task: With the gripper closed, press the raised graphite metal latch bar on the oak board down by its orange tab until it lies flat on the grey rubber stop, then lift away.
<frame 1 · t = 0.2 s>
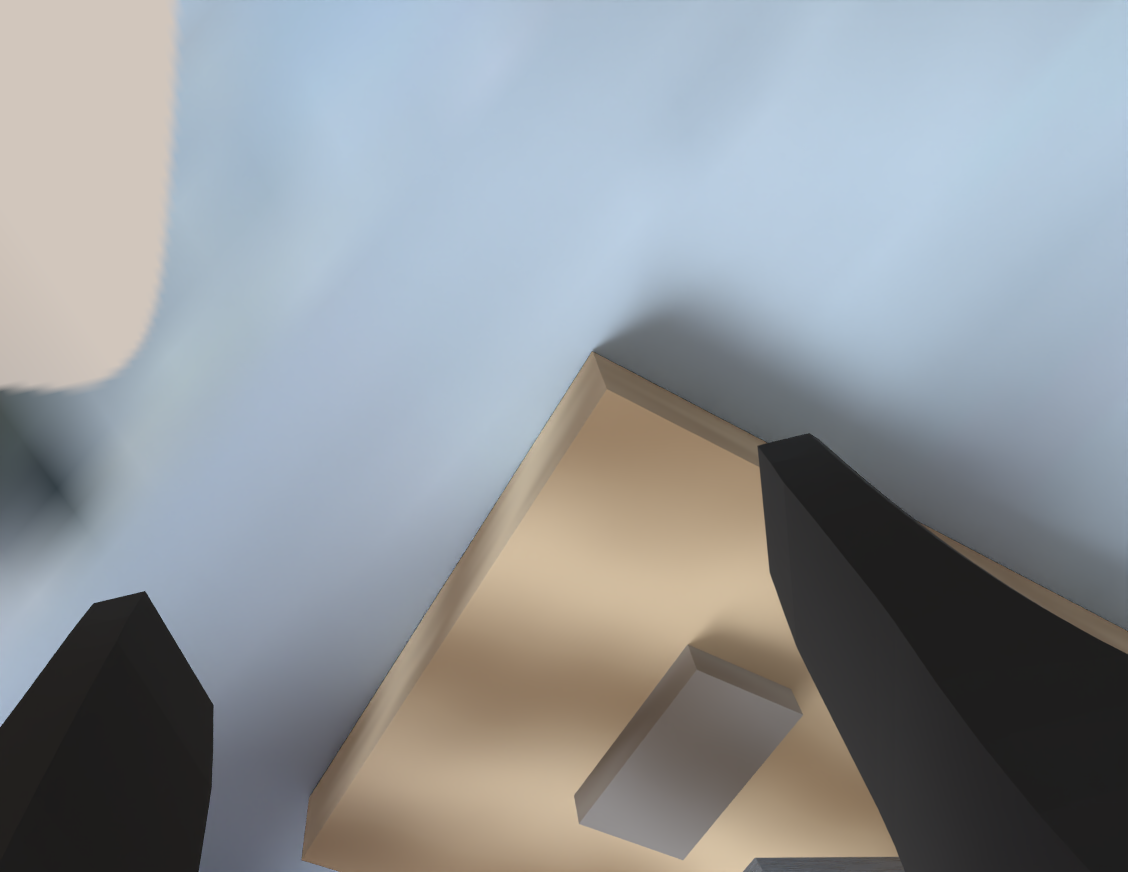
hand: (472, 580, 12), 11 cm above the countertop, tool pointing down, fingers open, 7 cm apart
latch board: (800, 744, 29), on the countertop
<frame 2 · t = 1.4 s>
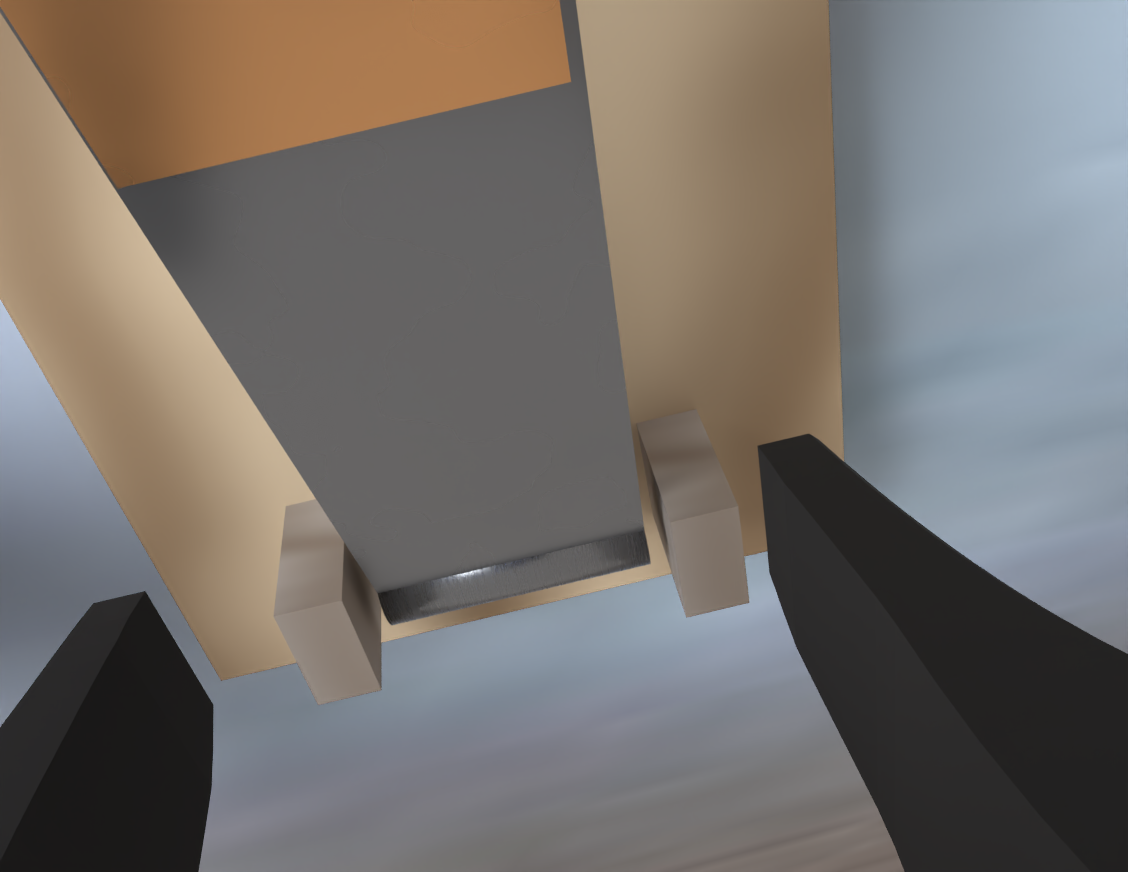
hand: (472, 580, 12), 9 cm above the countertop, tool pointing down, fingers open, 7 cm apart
latch board: (392, 82, 18), on the countertop
latch bar: (425, 319, 14), point 6 cm above the countertop, hinge at 20.0°
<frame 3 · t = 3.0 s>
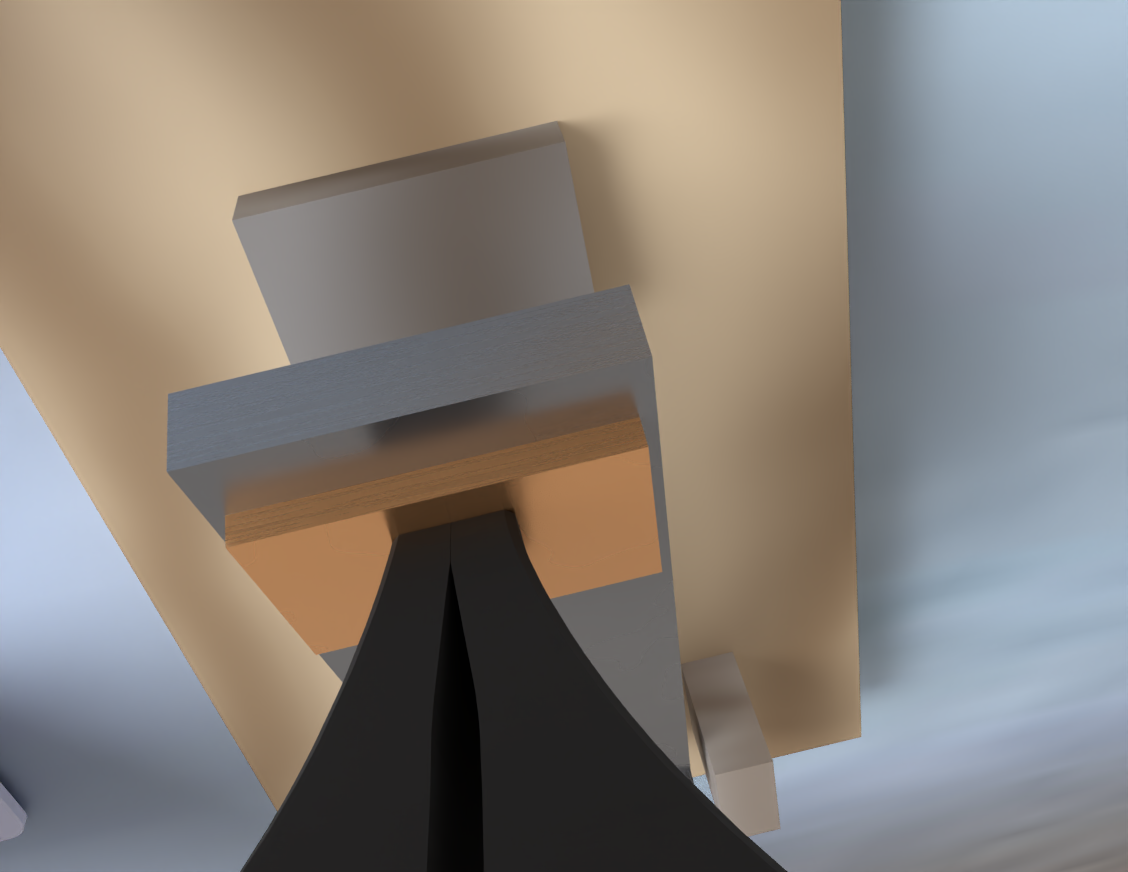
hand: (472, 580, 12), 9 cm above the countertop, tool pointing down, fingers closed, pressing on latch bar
latch board: (478, 401, 21), on the countertop
latch bar: (524, 664, 17), point 6 cm above the countertop, hinge at 19.4°, touching gripper
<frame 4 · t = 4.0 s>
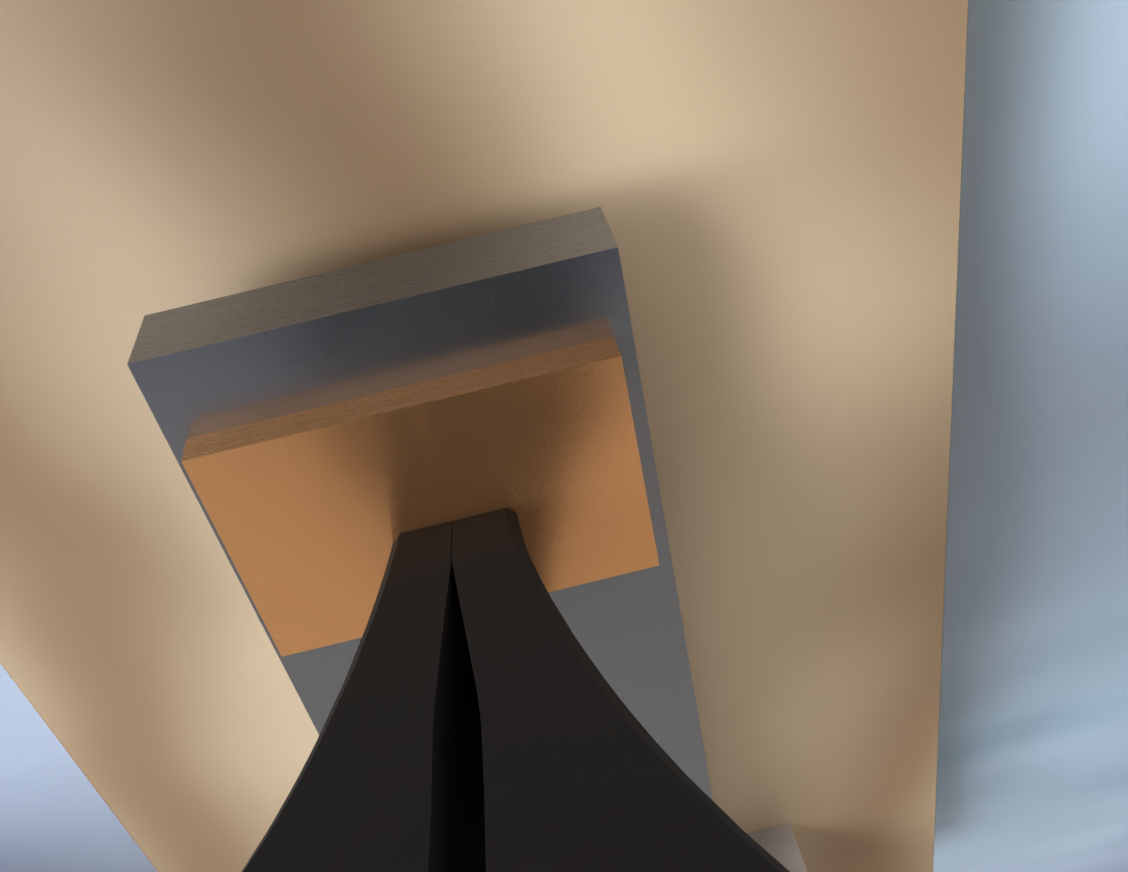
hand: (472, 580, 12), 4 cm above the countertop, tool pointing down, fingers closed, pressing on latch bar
latch board: (493, 548, 18), on the countertop
latch bar: (529, 752, 16), point 4 cm above the countertop, hinge at 0.1°, touching gripper
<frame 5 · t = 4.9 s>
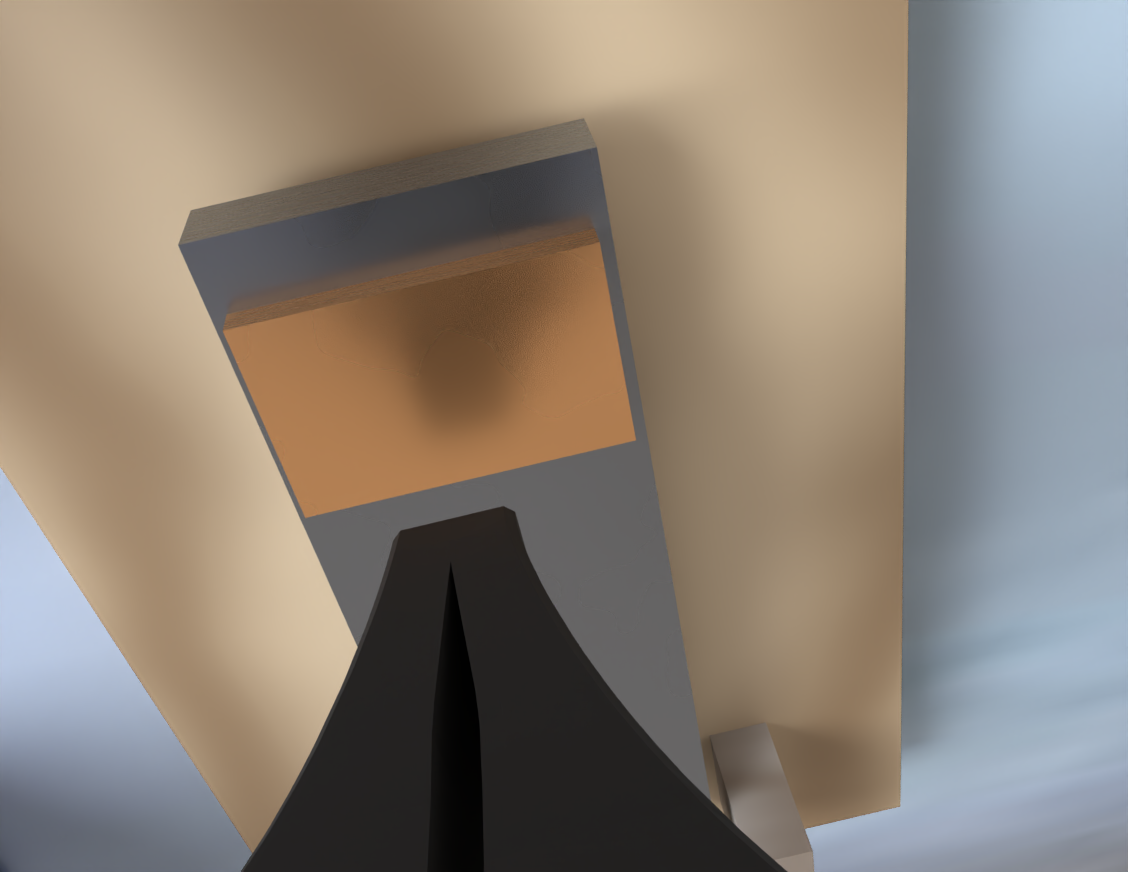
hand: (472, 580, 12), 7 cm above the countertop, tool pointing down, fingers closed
latch board: (493, 458, 20), on the countertop
latch bar: (523, 628, 17), point 4 cm above the countertop, hinge at -0.3°
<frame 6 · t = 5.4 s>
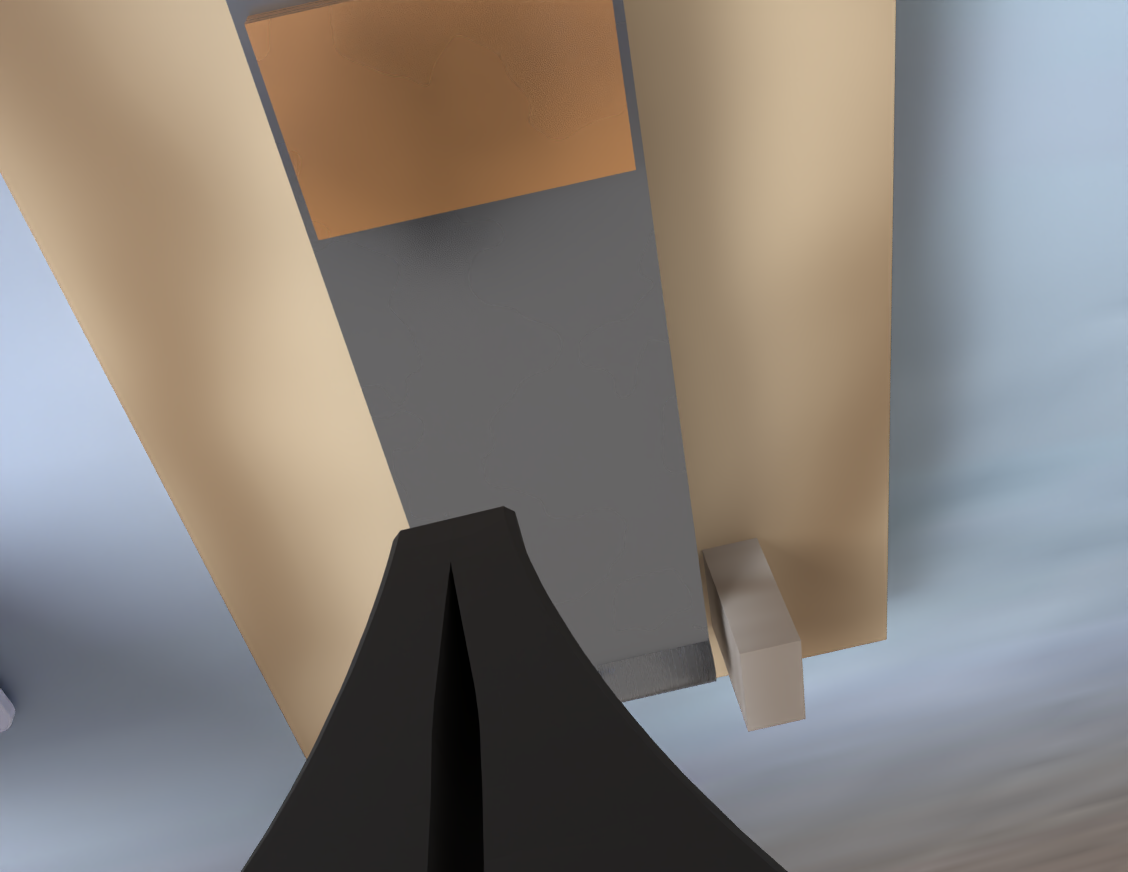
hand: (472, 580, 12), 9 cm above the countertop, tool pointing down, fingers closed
latch board: (495, 256, 20), on the countertop
latch bar: (524, 395, 18), point 4 cm above the countertop, hinge at -0.3°
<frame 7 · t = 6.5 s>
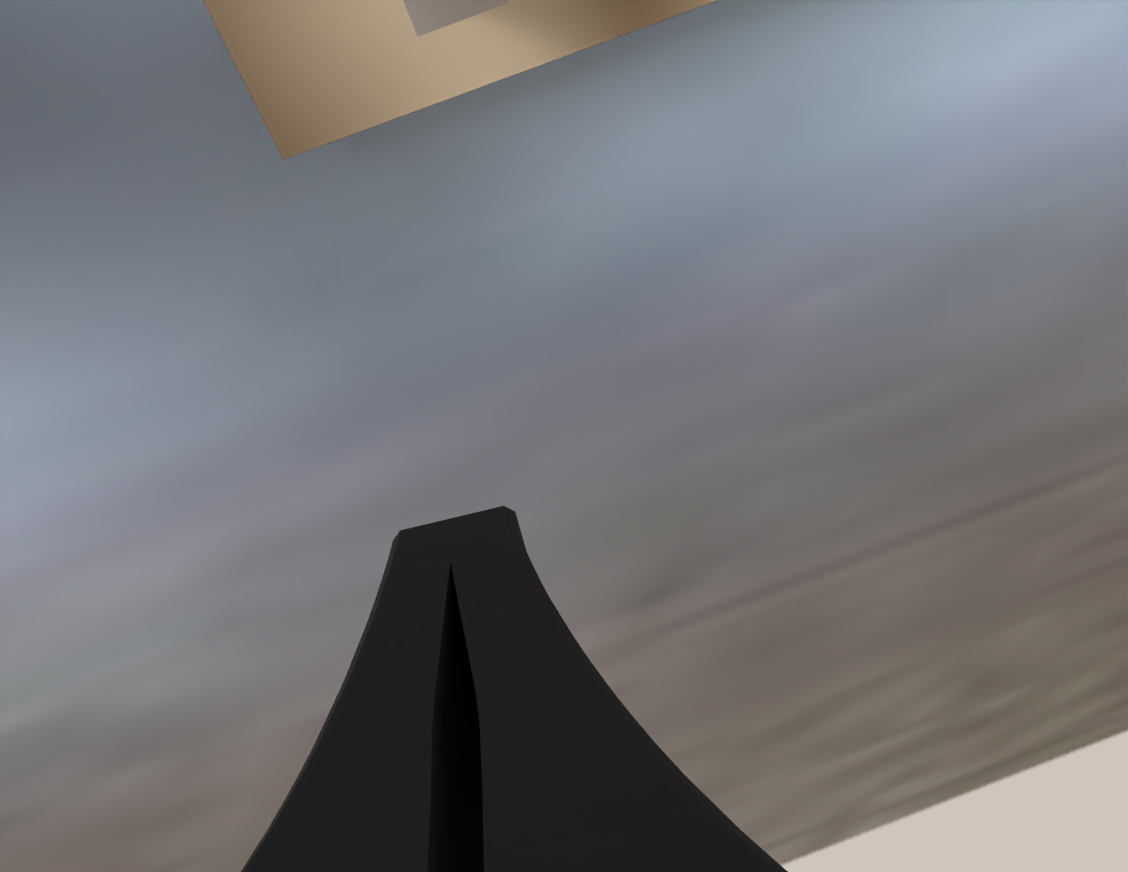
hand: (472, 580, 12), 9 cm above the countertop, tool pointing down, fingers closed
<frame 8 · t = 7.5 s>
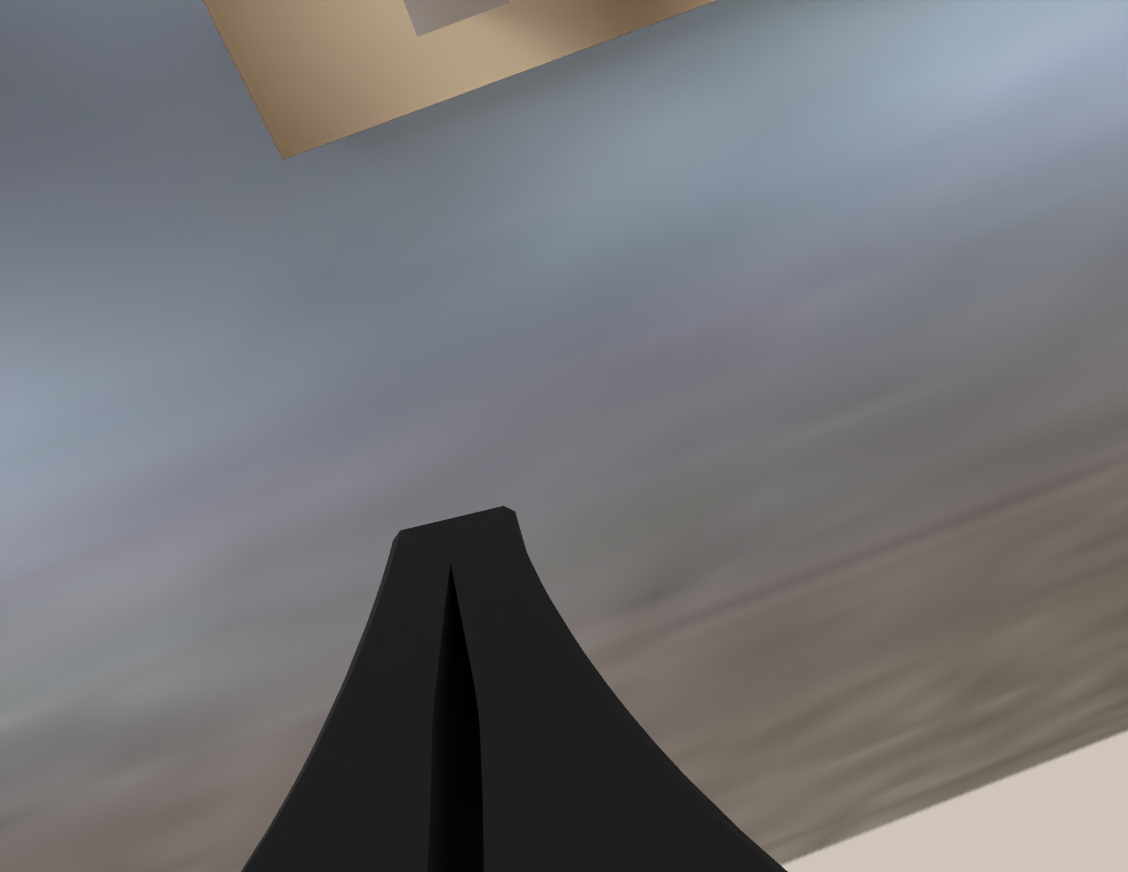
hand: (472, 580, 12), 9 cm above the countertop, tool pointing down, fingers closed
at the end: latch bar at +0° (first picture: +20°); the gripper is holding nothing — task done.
